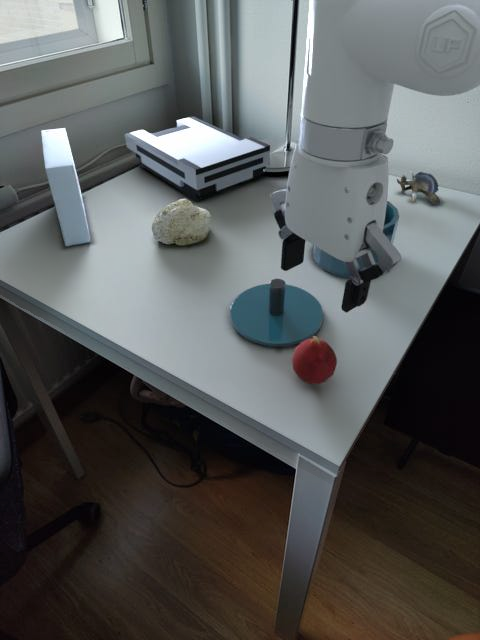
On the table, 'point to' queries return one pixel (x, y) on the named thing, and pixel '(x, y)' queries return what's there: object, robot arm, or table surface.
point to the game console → (199, 156)
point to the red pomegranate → (314, 360)
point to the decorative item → (181, 223)
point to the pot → (339, 266)
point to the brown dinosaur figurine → (421, 186)
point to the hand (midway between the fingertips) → (320, 285)
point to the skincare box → (65, 186)
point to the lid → (276, 314)
